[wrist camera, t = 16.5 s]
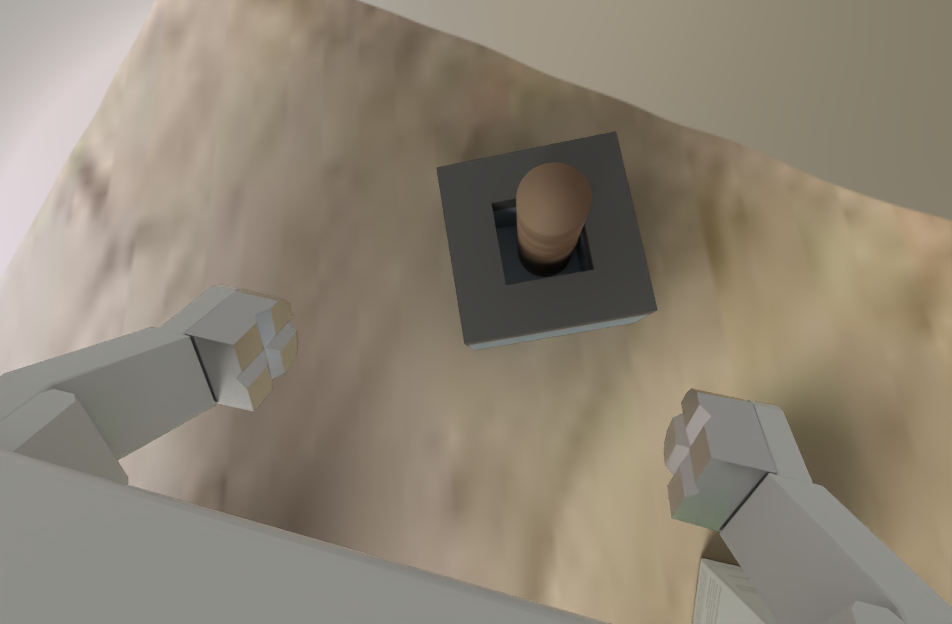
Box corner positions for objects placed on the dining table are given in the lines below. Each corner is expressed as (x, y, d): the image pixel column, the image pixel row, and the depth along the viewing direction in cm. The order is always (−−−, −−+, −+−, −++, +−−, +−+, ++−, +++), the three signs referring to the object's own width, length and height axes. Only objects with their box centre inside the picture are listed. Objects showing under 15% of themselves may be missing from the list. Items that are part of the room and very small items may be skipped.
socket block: (474, 350, 35) (464, 343, 29) (450, 202, 37) (436, 167, 31) (633, 322, 34) (657, 310, 28) (600, 172, 36) (615, 131, 30)
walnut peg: (523, 280, 34) (523, 239, 24) (513, 230, 35) (510, 170, 25) (576, 271, 34) (598, 225, 24) (566, 220, 35) (583, 155, 25)
